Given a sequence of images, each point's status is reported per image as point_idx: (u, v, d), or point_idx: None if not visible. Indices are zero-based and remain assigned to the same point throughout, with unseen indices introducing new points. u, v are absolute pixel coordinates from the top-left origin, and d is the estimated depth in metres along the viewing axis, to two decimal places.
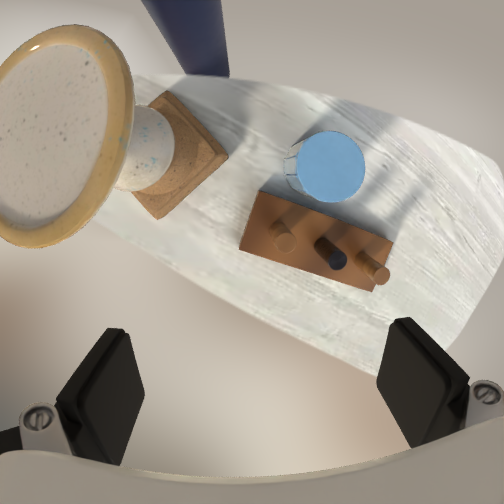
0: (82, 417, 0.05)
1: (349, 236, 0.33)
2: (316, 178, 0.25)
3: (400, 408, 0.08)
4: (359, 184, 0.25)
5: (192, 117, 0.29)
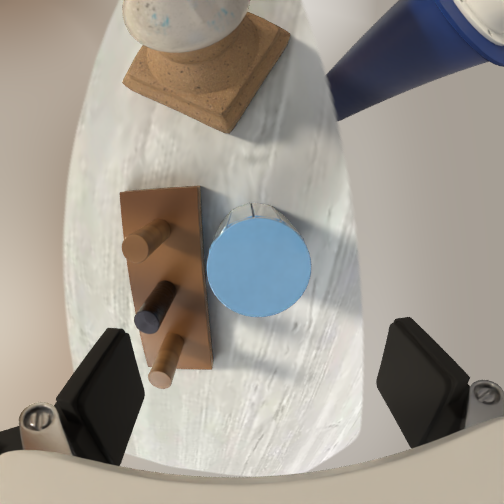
0: (82, 417, 0.05)
1: (192, 317, 0.26)
2: (232, 256, 0.18)
3: (400, 408, 0.08)
4: (251, 314, 0.19)
5: (263, 71, 0.20)
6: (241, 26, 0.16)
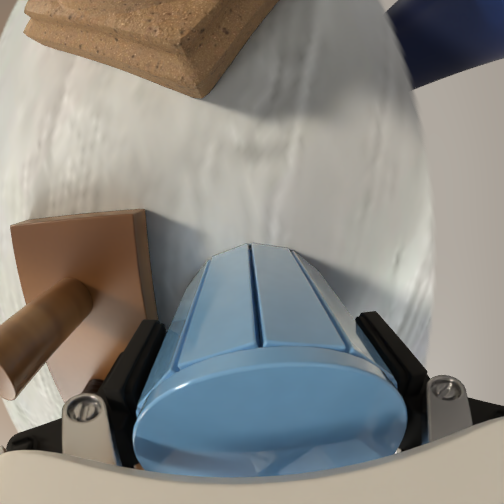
0: (128, 405, 0.06)
1: None
2: (198, 446, 0.05)
3: None
4: None
5: None
6: None
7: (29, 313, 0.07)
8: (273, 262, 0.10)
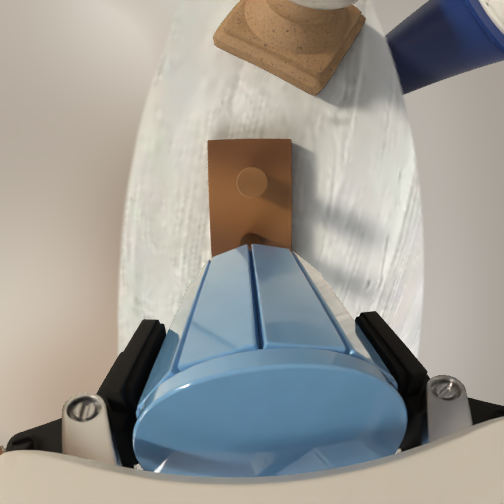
0: (128, 405, 0.06)
1: None
2: (198, 448, 0.05)
3: None
4: None
5: (348, 45, 0.20)
6: None
7: None
8: (273, 263, 0.10)
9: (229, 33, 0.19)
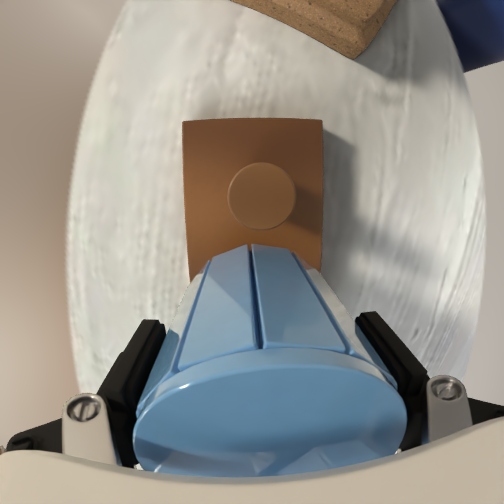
0: (129, 405, 0.06)
1: None
2: (198, 447, 0.05)
3: None
4: None
5: None
6: None
7: None
8: (273, 263, 0.10)
9: None
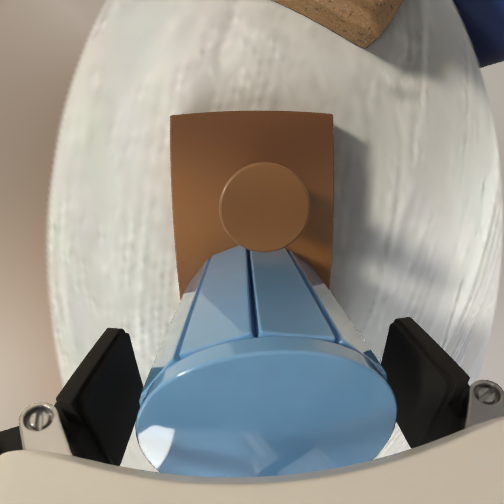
0: (82, 417, 0.05)
1: None
2: (197, 433, 0.05)
3: (400, 408, 0.08)
4: None
5: None
6: None
7: None
8: (269, 260, 0.10)
9: None
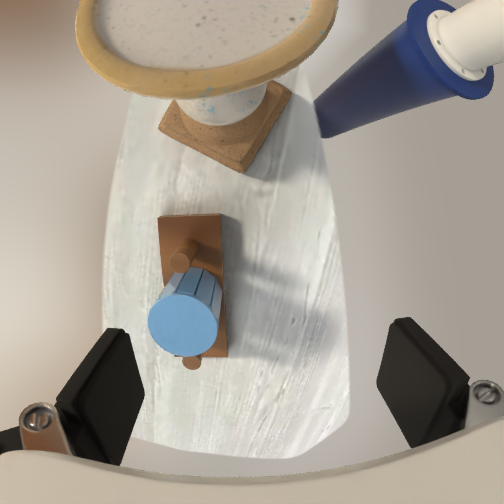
0: (82, 417, 0.05)
1: None
2: (163, 318, 0.25)
3: (400, 408, 0.08)
4: (180, 354, 0.26)
5: (270, 125, 0.28)
6: None
7: (186, 246, 0.28)
8: (191, 274, 0.30)
9: (169, 127, 0.27)
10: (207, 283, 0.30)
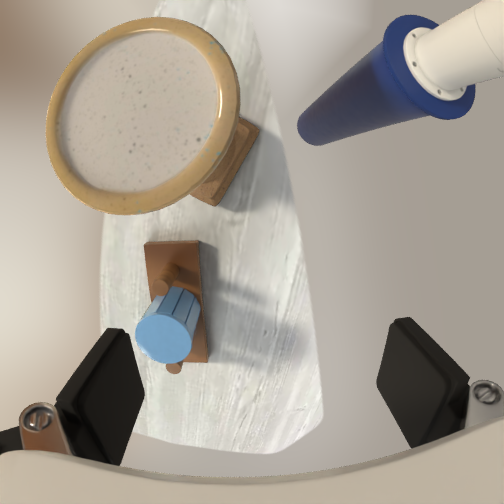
0: (82, 417, 0.05)
1: None
2: (147, 332, 0.30)
3: (400, 408, 0.08)
4: (162, 362, 0.31)
5: (239, 163, 0.33)
6: None
7: (167, 272, 0.33)
8: (172, 294, 0.35)
9: None
10: (185, 302, 0.34)
